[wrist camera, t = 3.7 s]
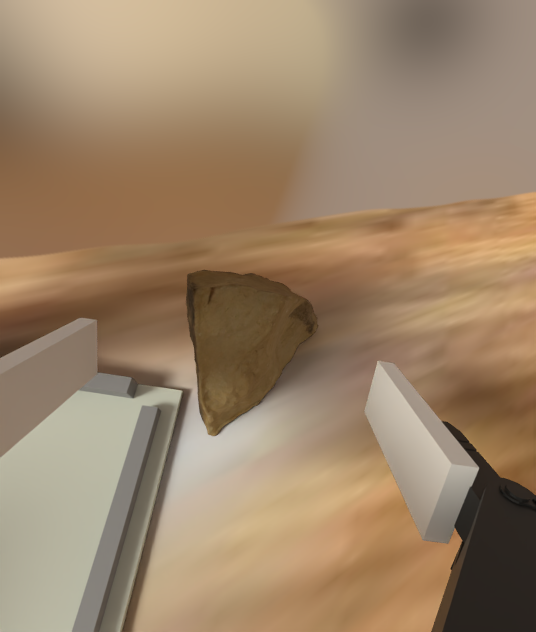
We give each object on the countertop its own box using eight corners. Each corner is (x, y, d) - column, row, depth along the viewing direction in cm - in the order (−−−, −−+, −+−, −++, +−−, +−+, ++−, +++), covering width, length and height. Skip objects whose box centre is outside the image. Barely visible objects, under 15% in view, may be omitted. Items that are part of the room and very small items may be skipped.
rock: (307, 261, 26) (177, 269, 23) (374, 259, 18) (186, 271, 15) (312, 390, 27) (192, 413, 24) (374, 442, 19) (207, 486, 16)
